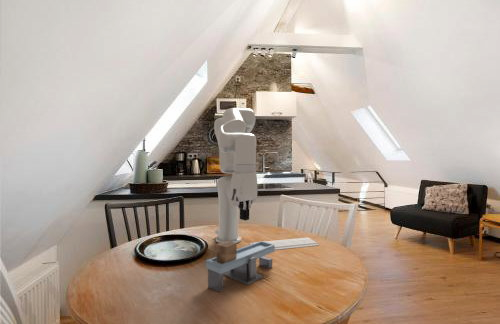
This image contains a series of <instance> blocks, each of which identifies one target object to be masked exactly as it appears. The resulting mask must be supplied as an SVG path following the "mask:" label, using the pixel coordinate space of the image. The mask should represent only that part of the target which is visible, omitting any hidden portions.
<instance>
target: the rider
mask: <svg viewBox="0 0 500 324" xmlns="http://www.w3.org/2000/svg"><path fill="white" fill-rule="evenodd" d="M237 244H238V243H233V242H229V241H225V242H222V243H216V257H217V262H218V263H221V264H223V263H226V262H229V261H231V260H234V259H236V253H237V249H238V248H237V246H238V245H237Z"/></svg>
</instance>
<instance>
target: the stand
mask: <svg viewBox="0 0 500 324" xmlns="http://www.w3.org/2000/svg"><path fill="white" fill-rule="evenodd" d="M258 265H259V266H260V267H264V268H266V269H271V268H273V258H271V257H268V256H266V255H265V256H263V257H260V258H258ZM224 277H227V278H230V279H232V280H235V281H237V282H239V283H241V284H245V285H247V286H249V285H251V284H253V283H254V282H257V281H258V280H261V279H263V274H261V273H259V272H258V273H257V259H256V257H252V258H250V259H249V262H248V263H246V264H243V265H241V266H239V267H236V268H234V269H231V270H229V271H227V272H224V273H222V274H219V273H217V272H214V271H212V270H209V269H207V288H209V289H211V290H213V291H215V292H218V293H219V292H221V291H223V290H224Z"/></svg>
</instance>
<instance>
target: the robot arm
mask: <svg viewBox="0 0 500 324" xmlns="http://www.w3.org/2000/svg"><path fill="white" fill-rule="evenodd" d="M256 118H257V117H256V114H255V112H254V110H253V109H251V108H243V107H241V108H240V107H231V108H228V109H225V110H224V111H223V114H222V117H219V118H216V119H215V120H214V124H213V129H214V133H215V139H216V140H217V145H218V148H219V149H218V153H219V155H218V157H219V171H220V173H223V174H230V175H231V174H232V175H231V176H229V175H227V176H222V177H219V178H218V180H217V182H216V188H217V194H218V195H217V196H218V228H217V229H216V230H215V231H214V234H216V235H217V236H216V237H215V242H216V243H217V244H219V243H222V242H225V241H229V242H233V243H236V244H238V243H240V242H241V241H242V237H241V236H240V235H239V220H242V221H248V220H250V209H251V207H252V204H253V203H254V202H256V200H257V199H256V198H257V197H258V193H259V192H258V189H259V188H258V176H257V172H256V168H257V166H256V165H257V164H256V163H257V144H258V143H257V136H256V135H255V134H253V133H251V132H252V130H253V129H254V127H255V124H256V121H257V120H256Z"/></svg>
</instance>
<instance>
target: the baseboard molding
mask: <svg viewBox="0 0 500 324" xmlns="http://www.w3.org/2000/svg"><path fill="white" fill-rule="evenodd" d="M257 242H258V241H257ZM257 242H250V241H249V243H248V245H251V244H254V243H257ZM264 242H267V243H271V244H273V245H275V251H279V250H280V251H281V250H288V249H289V250H290V248H291V249H298V248H299V249H300V248H307V247H318V246H320V245H319V243H318V242H317V241H315V240H313V239H312V238H310V237H299V238H290V239H287V238H286V239H277V240H268V241H267V240H264Z"/></svg>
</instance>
